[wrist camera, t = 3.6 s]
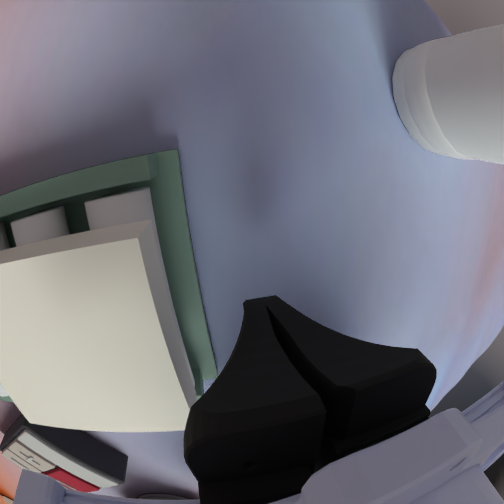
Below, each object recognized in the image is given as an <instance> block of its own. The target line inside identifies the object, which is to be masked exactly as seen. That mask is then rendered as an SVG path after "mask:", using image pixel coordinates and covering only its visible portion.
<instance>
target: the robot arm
mask: <svg viewBox="0 0 504 504" xmlns="http://www.w3.org/2000/svg"><path fill="white" fill-rule="evenodd" d="M243 307H244V317H243V322H242V327H241V331H240V334H239V337H238V340H237V343H236V345H235V348H234V350H233V352H232V354H231V356H230V358H229V360H228V362H227V363H226V365H225V367H224V369H223V370H222V372H221V373H220V375H219V376H218V377H217V379H216V380H215V381H214V383H213V384H212V385H211V386H210V388H209V389H208V390H207V391H206V392H205V393H204V394H203V395H202V396H201V397H200V398H199V399H198V400H197V401H196V402H195V403H194V404H193V405H192V406H191V408H190V411H189V415H188V418H187V422H186V427H185V433H184V458H185V461H186V464H187V465H188V467H189V468H190V470H191V472H192V473H193V475H194V476H195V478H196V479H197V481H198V486H199V497H200V499H195V500H148V499H132V498H121V497H112V496H105V495H98V494H92V493H86V492H80V491H75V490H71V489H66V488H64V486H63V485H62V484H61V483H59V482H58V481H57V480H55V479H54V478H52V477H50V476H47V475H45V474H41V473H37V472H34V471H30V470H27V469H22V473H21V476H20V479H19V483H18V487H17V490H16V494H15V498H14V502H13V504H504V501H503V499H502V498H501V497H500V495H499V494H498V492H497V491H496V489H495V488H494V487H493V485H492V484H491V483H490V481H489V480H488V478H487V477H486V476H485V474H484V473H483V471H485V470H486V469H487V468H488V467H489V466H490V465H491V464H492V463H493V462H495V461H496V460H497V459H498V458H499V457H500V456H501V455H502V454H503V453H504V381H503V382H502V383H500V384H499V385H498V386H497V387H495V388H494V389H493V390H492V391H490V392H489V393H488V394H487V395H485V396H484V397H483V398H481V399H480V400H479V401H477V402H476V403H474V404H473V405H472V406H470V407H469V408H467V409H466V410H464V411H463V412H460V411H459V410H458V409H456V408H452V409H448V410H446V411H444V412H441V413H439V414H437V415H435V416H433V417H432V418H430V419H429V418H428V416H429V415H430V410H429V409H428V407H427V406H426V405H425V404H426V402H427V400H428V397H429V395H430V393H431V391H432V389H433V386H434V383H435V380H436V368H435V367H434V365H433V364H432V363H431V362H430V361H429V360H428V359H427V358H426V357H425V356H424V355H423V354H422V353H421V352H420V351H419V350H418V349H413V348H401V347H391V346H385V345H379V344H374V343H370V342H366V341H362V340H359V339H355V338H352V337H349V336H346V335H343V334H341V333H338V332H336V331H334V330H331V329H329V328H327V327H325V326H323V325H321V324H319V323H317V322H315V321H313V320H311V319H310V318H308V317H306V316H305V315H303V314H302V313H300V312H299V311H297V310H296V309H294V308H293V307H291V306H290V305H288V304H287V303H286V302H284V301H283V300H282V299H280V298H279V297H277V296H276V295H274V296H268V297H262V298H256V299H250V300H245V302H244V303H243Z"/></svg>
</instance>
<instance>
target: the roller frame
mask: <svg viewBox="0 0 504 504" xmlns="http://www.w3.org/2000/svg"><path fill="white" fill-rule="evenodd" d="M150 219H151V220H152V226H153V231H154V236H155V241H156V246H157V251H158V256H159V260H160V265H161V269H162V274H163V278H164V282H165V287H166V291H167V295H168V299H169V303H170V307H171V311H172V314H173V318H174V322H175V326H176V329H177V333H178V336H179V340H180V343H181V347H182V350H183V353H184V357H185V360H186V363H187V366H188V370H189V373H190V376H191V379H192V382H193V385H194V388H195V391H196V401H197V400H198V399H199V398H200V397H201V396H202V395H203V394H204V389H203V380H208V379H215V378H217V377H218V372H217V367H216V363H215V358H214V354H213V350H212V345H211V341H210V336H209V332H208V327H207V322H206V317H205V313H204V308H203V303H202V298H201V293H200V287H199V282H198V277H197V271H196V266H195V260H194V255H193V249H192V243H191V237H190V231H189V224H188V218H187V211H186V205H185V198H184V191H183V183H182V176H181V168H180V160H179V152H178V149H174V150H168V151H162V152H157V153H151V154H146V155H141V156H136V157H131V158H126V159H122V160H117V161H113V162H109V163H104V164H100V165H96V166H92V167H88V168H85V169H81V170H77V171H74V172H70V173H67V174H63V175H60V176H56V177H53V178H50V179H47V180H44V181H40V182H37V183H34V184H31V185H28V186H26V187H23V188H20V189H17V190H14V191H12V192H9V193H6V194H4V195H1V196H0V251H2V250H5V249H9V248H14V247H18V246H22V245H26V244H30V243H34V242H39V241H43V240H48V239H52V238H57V237H61V236H66V235H71V234H76V233H80V232H85V231H90V230H95V229H101V228H106V227H111V226H116V225H122V224H127V223H133V222H138V221H144V220H150ZM0 399H1V400H2V401H8V402H13V400H12V399H11V398H10V396H9V395H8V393H7V392H6V391H5V389H4V388H3V386H2V385H1V383H0ZM13 403H14V402H13Z"/></svg>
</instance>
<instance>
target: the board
mask: <svg viewBox="0 0 504 504" xmlns="http://www.w3.org/2000/svg"><path fill="white" fill-rule="evenodd" d="M0 383H1V385H2V386H3V388H4V389H5V391H6V392H7V393H8V395H9V396H10V398H11V399H12V400H13V402H14V403H15V405H16V406H17V407H18V409H19V410H20V411H21V413H22V414H23V415H24V416H25V418H26V419H27V420H28V421H29V423H32V424H38V425H44V426H51V427H58V428H67V429H76V430H88V431H104V432H164V431H181V430H185V427H186V422H187V418H188V415H189V411H190V408H191V406H192V405H193V404H194V403H195V402H196V391H195V388H194V385H193V382H192V379H191V376H190V373H189V370H188V366H187V363H186V360H185V357H184V353H183V350H182V347H181V343H180V340H179V336H178V333H177V329H176V326H175V322H174V318H173V314H172V311H171V307H170V303H169V299H168V295H167V291H166V287H165V282H164V278H163V274H162V269H161V265H160V260H159V256H158V251H157V246H156V241H155V236H154V231H153V226H152V220H151V219H150V220H144V221H138V222H133V223H127V224H122V225H116V226H111V227H106V228H101V229H95V230H90V231H85V232H80V233H76V234H71V235H66V236H61V237H57V238H52V239H48V240H43V241H39V242H34V243H30V244H26V245H22V246H18V247H14V248H9V249H5V250H2V251H0Z"/></svg>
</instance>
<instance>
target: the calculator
mask: <svg viewBox="0 0 504 504" xmlns="http://www.w3.org/2000/svg"><path fill="white" fill-rule="evenodd" d="M0 450H1V451H2V455H3V456H4V457H6V458H7V459H8V460H10V461H11V462H13V463H14V464H16V465H17V466H19V467H20V468H22V469H27V470H30V471H34V472H37V473H41V474H45V475H47V476H50V477H52V478H54V479H55V480H57V481H58V482H59V483H61V484H62V485H63V486H64V488H66V489H71V490H75V491H80V492H92V491H98V490H99V489H100V488H106V487H111V486H116V485H119V484H123V483H124V482H125V475H126V468H127V460H128V456H126V455H125V454H123V453H121V452H119V451H117V450H115V449H113V448H111V447H109V446H107V445H106V444H104V443H102V442H100V441H99V440H97V439H95V438H93V437H92V436H90V435H88V434H87V433H85V432H83V431H82V430H76V429H67V428H58V427H51V426H44V425H38V424H32V423H29V421H28V420H27V419H26V418H25V416H24V415H23V414H22V415H21V416H20V417H19V418H18V419H17V420H16V421H15V422H14V424H13V425H12V426H11V427H10V428H9V430H8V431H7V432H6V433H5V435H4V437H3V440H2V442H1V445H0Z"/></svg>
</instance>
